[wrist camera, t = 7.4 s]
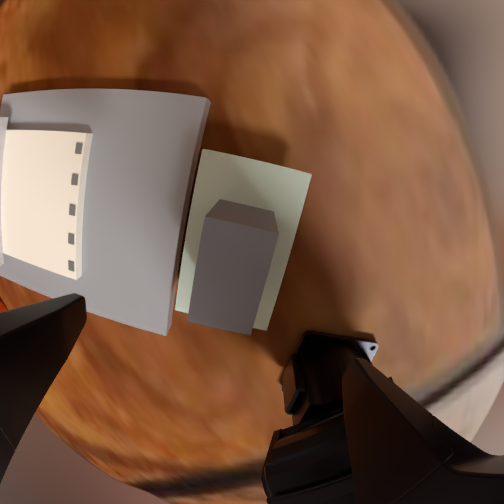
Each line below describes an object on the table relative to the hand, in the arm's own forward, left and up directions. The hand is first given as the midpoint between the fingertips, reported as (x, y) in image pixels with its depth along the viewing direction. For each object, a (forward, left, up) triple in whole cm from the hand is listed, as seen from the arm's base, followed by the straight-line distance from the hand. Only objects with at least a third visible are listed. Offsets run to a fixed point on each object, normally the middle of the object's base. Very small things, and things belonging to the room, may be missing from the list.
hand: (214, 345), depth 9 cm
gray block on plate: (0, 0, -9) cm, 9 cm away
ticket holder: (+13, 0, -11) cm, 17 cm away
